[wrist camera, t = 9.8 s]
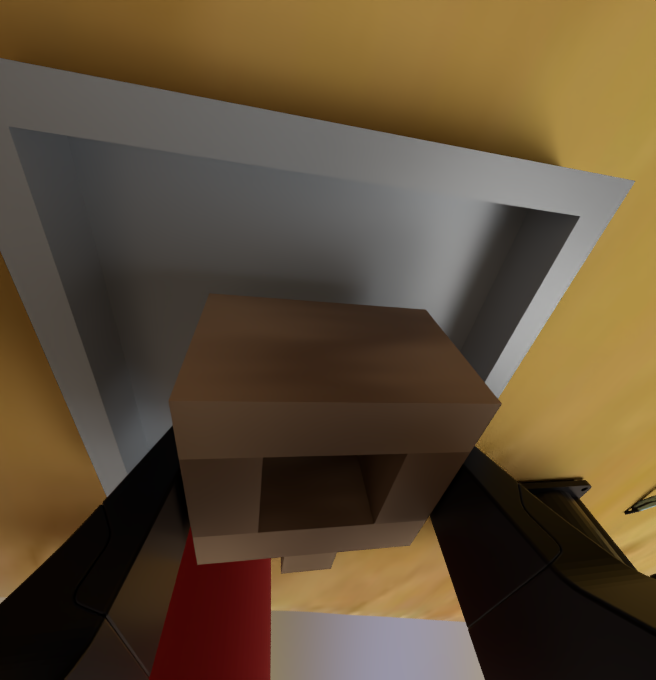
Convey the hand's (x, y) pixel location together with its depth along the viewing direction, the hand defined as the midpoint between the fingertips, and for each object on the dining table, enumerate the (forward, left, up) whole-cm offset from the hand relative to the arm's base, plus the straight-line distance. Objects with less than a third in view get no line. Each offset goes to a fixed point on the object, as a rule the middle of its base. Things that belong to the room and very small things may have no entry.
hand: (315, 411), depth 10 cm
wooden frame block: (0, 0, -1) cm, 1 cm away
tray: (0, 0, -4) cm, 4 cm away
